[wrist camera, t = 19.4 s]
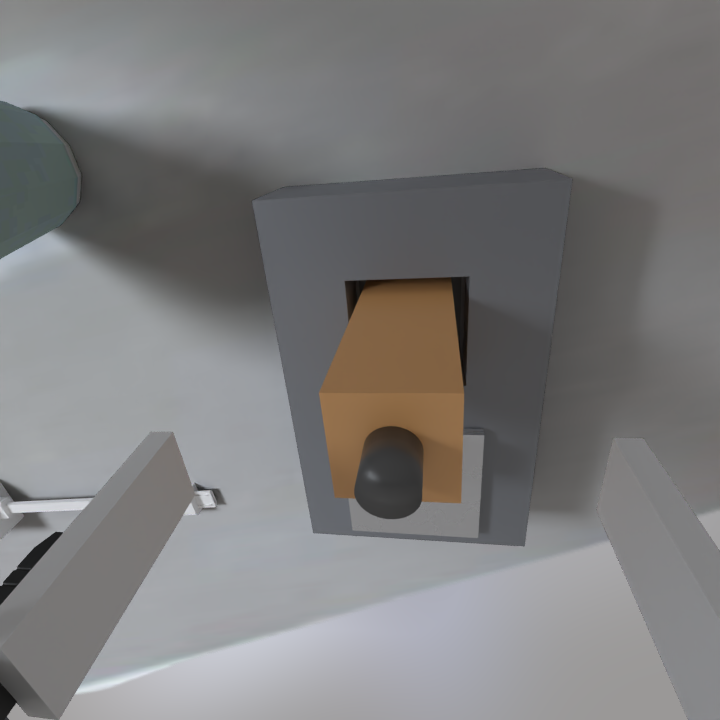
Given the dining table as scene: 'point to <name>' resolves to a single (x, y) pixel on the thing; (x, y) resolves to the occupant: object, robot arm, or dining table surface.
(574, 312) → the dining table surface
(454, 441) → the plug
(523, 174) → the socket box
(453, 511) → the shutter
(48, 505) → the charging cable
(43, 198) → the disposable coffee cup
